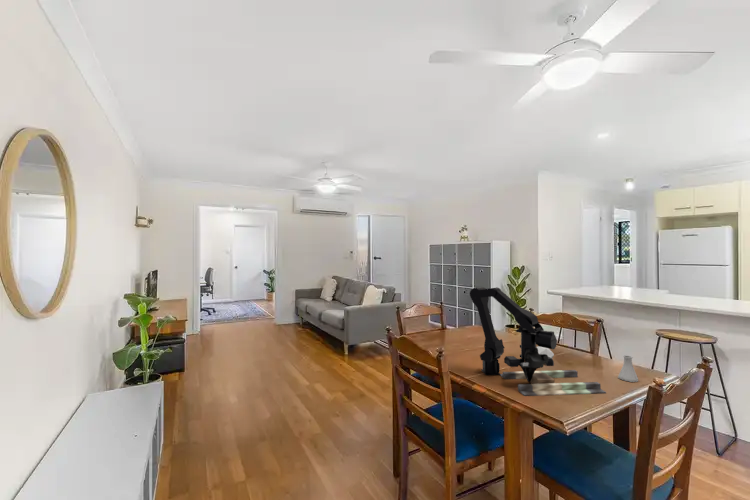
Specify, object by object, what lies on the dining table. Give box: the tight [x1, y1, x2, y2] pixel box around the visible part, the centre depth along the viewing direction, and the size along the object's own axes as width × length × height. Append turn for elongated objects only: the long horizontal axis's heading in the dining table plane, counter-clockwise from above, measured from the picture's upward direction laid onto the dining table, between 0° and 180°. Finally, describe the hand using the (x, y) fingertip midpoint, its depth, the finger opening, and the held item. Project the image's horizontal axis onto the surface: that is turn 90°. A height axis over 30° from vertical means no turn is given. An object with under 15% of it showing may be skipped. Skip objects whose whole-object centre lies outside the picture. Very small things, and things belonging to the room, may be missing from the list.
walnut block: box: [529, 373, 556, 384], centre depth 142 cm, size 7×7×4 cm
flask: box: [617, 354, 639, 383], centre depth 148 cm, size 7×7×10 cm
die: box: [536, 345, 555, 359], centre depth 170 cm, size 8×9×10 cm
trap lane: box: [499, 369, 607, 397], centre depth 143 cm, size 33×22×2 cm, turn 94°
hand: (528, 381), depth 143 cm, fingers closed
